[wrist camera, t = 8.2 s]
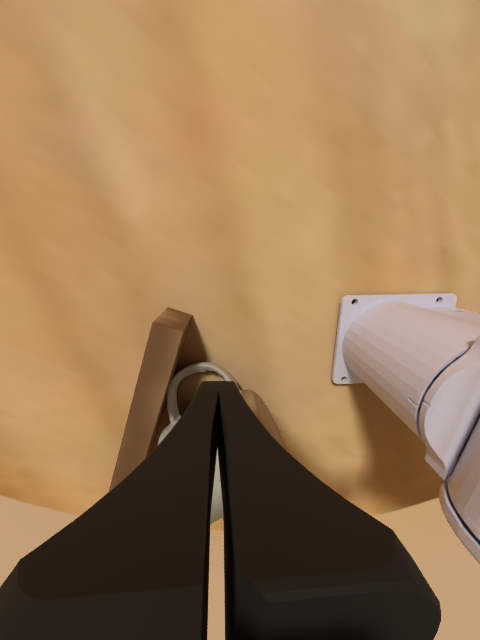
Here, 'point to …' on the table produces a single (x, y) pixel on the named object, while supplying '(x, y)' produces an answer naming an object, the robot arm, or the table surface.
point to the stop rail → (151, 390)
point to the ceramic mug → (174, 416)
